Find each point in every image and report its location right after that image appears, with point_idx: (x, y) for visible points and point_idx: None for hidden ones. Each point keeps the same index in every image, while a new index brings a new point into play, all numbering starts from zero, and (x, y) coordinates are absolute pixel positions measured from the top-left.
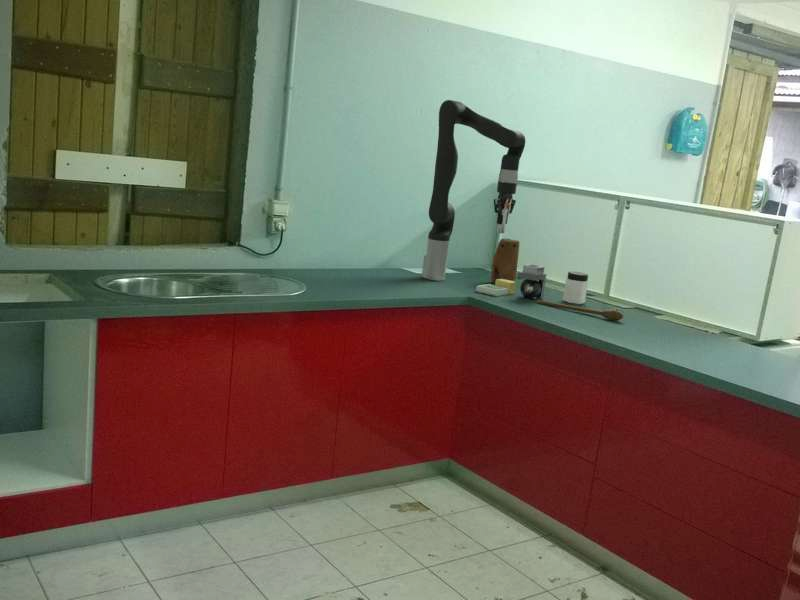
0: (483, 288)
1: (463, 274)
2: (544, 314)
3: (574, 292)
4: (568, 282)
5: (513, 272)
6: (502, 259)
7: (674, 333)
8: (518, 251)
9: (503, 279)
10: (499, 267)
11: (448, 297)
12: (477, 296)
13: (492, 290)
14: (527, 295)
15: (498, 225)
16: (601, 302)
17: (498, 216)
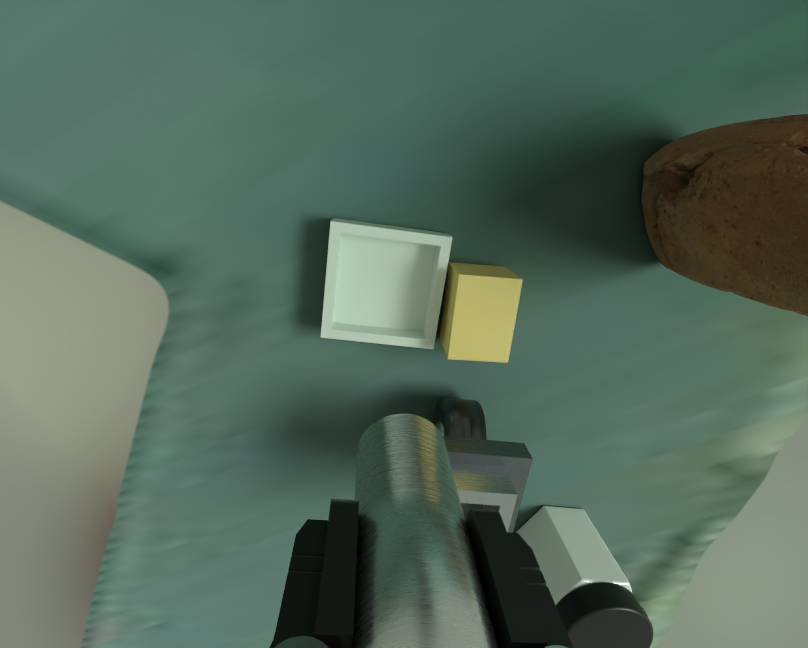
0: (327, 261)
1: None
2: (202, 564)
3: None
4: (557, 582)
5: (698, 277)
6: (734, 216)
7: None
8: None
9: (508, 296)
10: (693, 200)
11: (38, 208)
12: (227, 278)
13: (323, 313)
14: (435, 423)
15: (359, 493)
16: (643, 585)
17: (283, 630)
